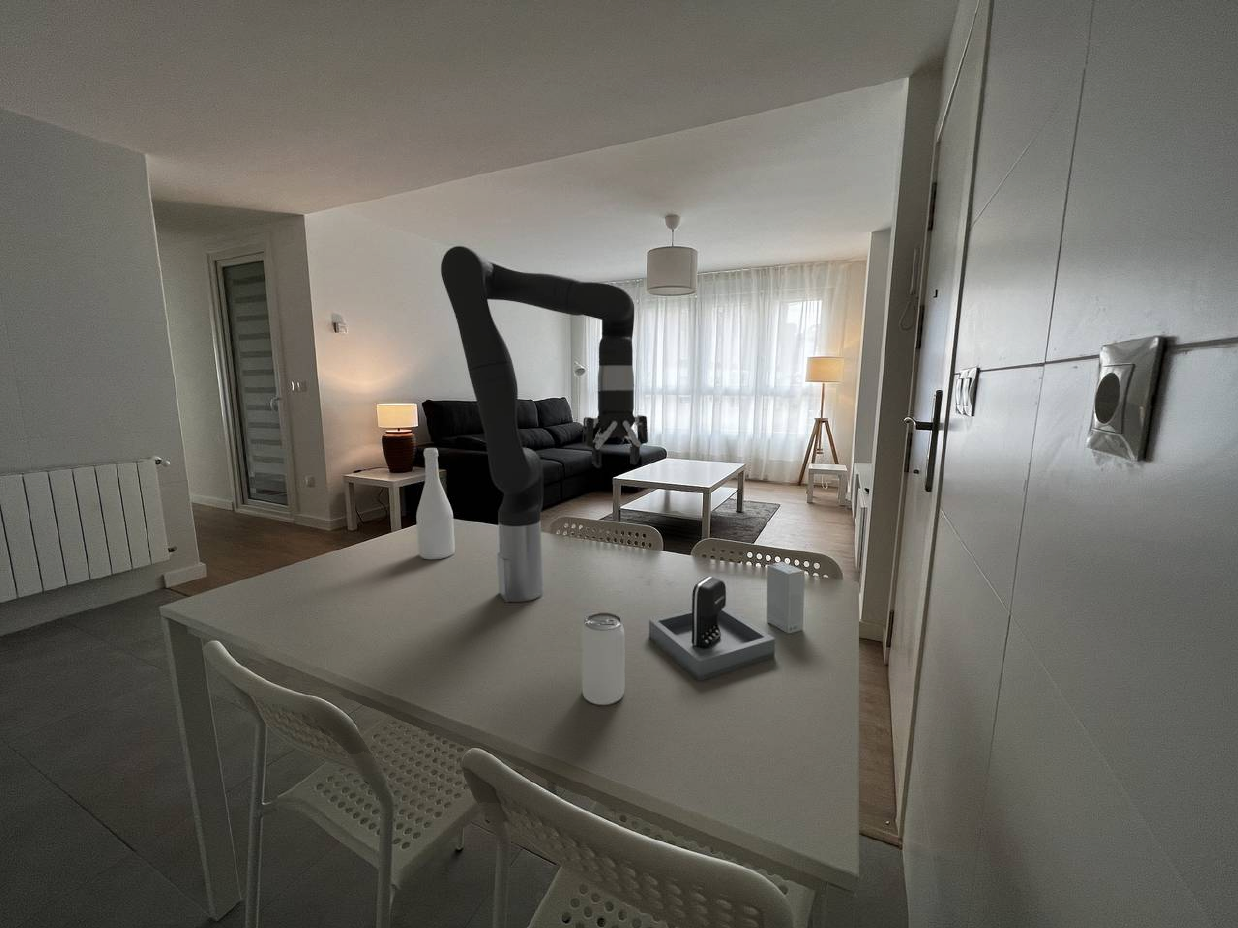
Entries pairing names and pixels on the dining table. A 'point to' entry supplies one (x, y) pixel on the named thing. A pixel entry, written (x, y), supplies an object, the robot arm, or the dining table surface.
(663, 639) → the tray
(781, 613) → the skincare box
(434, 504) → the wine bottle
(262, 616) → the dining table surface
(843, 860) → the dining table surface
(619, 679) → the can
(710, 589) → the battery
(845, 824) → the dining table surface
